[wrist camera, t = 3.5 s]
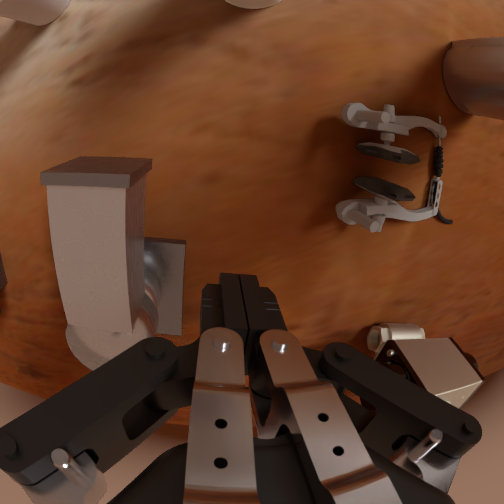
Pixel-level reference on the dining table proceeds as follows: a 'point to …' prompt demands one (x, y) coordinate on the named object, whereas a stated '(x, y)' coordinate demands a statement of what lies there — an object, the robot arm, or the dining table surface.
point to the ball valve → (425, 362)
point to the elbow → (101, 254)
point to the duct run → (2, 276)
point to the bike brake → (385, 190)
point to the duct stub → (165, 281)
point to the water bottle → (253, 3)
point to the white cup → (33, 10)
